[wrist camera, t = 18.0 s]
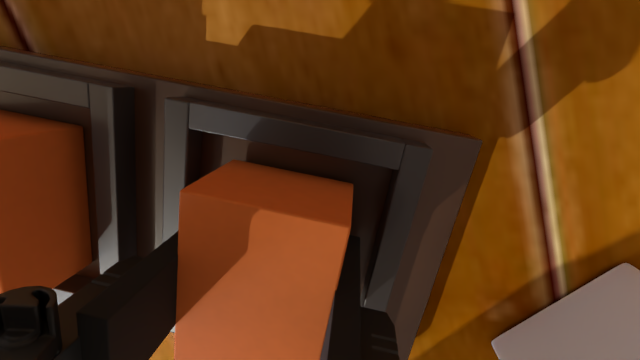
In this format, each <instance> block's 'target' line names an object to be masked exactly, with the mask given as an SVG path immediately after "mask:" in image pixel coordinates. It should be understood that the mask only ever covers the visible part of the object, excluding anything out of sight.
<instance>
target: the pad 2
mask: <svg viewBox="0 0 640 360" xmlns="http://www.w3.org/2000/svg"><path fill="white" fill-rule="evenodd" d="M352 203H353V184H352V183H347V182H342V181H337V180H333V179H328V178H323V177H318V176H313V175H308V174H303V173H298V172H294V171H289V170H284V169H279V168H274V167H269V166H264V165H259V164H254V163H250V162H245V161H240V160H235V159H234V160H232V161H230V162H228V163H227V164H225V165H223V166H221V167H220V168H218V169H216V170H214V171H213V172H211V173H209V174H208V175H206V176H204V177H202V178H201V179H199V180H197V181H195V182H194V183H192V184H190V185H189V186H187V187H185V188H183V189H182V190H181V191H180V199H179V228H178V271H177V299H176V325H175V345H174V360H320V356H321V352H322V347H323V343H324V339H325V334H326V330H327V325H328V321H329V317H330V312H331V308H332V303H333V299H334V295H335V291H336V290H337V287H338V283H339V278H340V274H341V270H342V265H343V261H344V257H345V252H346V248H347V243H348V239H349V235H350V230H351V219H352Z"/></svg>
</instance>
